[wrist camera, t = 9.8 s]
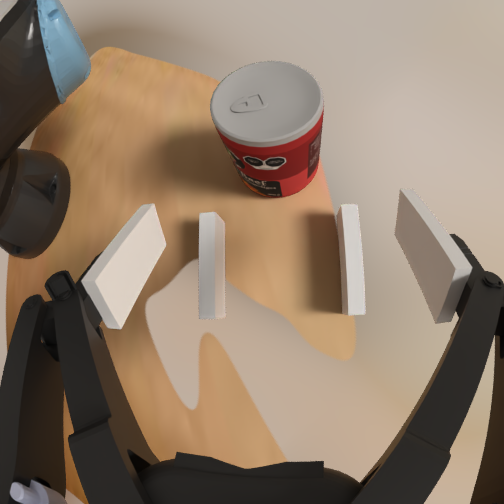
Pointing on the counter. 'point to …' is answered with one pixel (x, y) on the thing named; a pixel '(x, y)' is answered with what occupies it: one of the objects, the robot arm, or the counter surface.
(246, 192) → the counter surface
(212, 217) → the channel
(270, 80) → the canned food
